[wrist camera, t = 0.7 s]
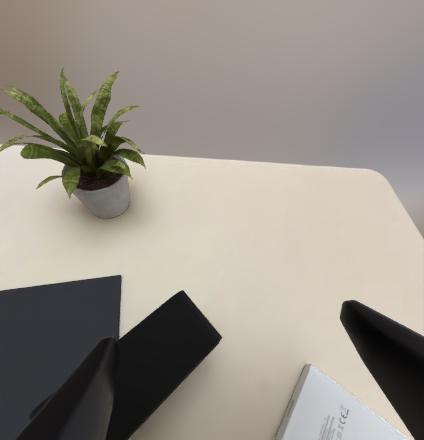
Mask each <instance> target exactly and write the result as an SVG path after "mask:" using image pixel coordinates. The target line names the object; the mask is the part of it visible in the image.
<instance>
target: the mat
mask: <svg viewBox="0 0 424 440" xmlns="http://www.w3.org/2000/svg"><path fill="white" fill-rule="evenodd" d="M120 297H121V275H117V276H109V277H102V278H94V279H86V280H79V281H71V282H63V283H56V284H48V285H41V286H33V287H25V288H18V289H10V290H3V291H0V440H15V438H16V437H17V436H18V435H19V434H20V433H21V431H22V430H23V429H24V428H25V427H26V426H27V424H28V423H29V422H30V418H29V415H30V413H31V412H32V411H33V410H34V409H35V408H36V407H37V406H38V405H39V404H41V403H42V402H43V401H44V400H45V399H46V398H48V397H49V396H50V395H51V394H53V393H54V392H55V391H56V390H57V389H58V388H59V387H60V386H61V385H62V384H63V383H64V381H65V380H66V379H67V378H68V377H69V376H70V374H71V373H72V372H73V371H74V370H75V369H76V367H77V366H78V365H79V364H80V363H81V362H82V360H83V359H84V358H85V357H86V356H87V355H88V353H89V352H90V351H91V350H92V349H93V348H94V346H95V345H96V344H97V343H98V342H99V341H100V340H101V339H102V338H104V337H110V336H113V337H114V338H115V340H116V342H117V341H118V340H119V320H120Z"/></svg>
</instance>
